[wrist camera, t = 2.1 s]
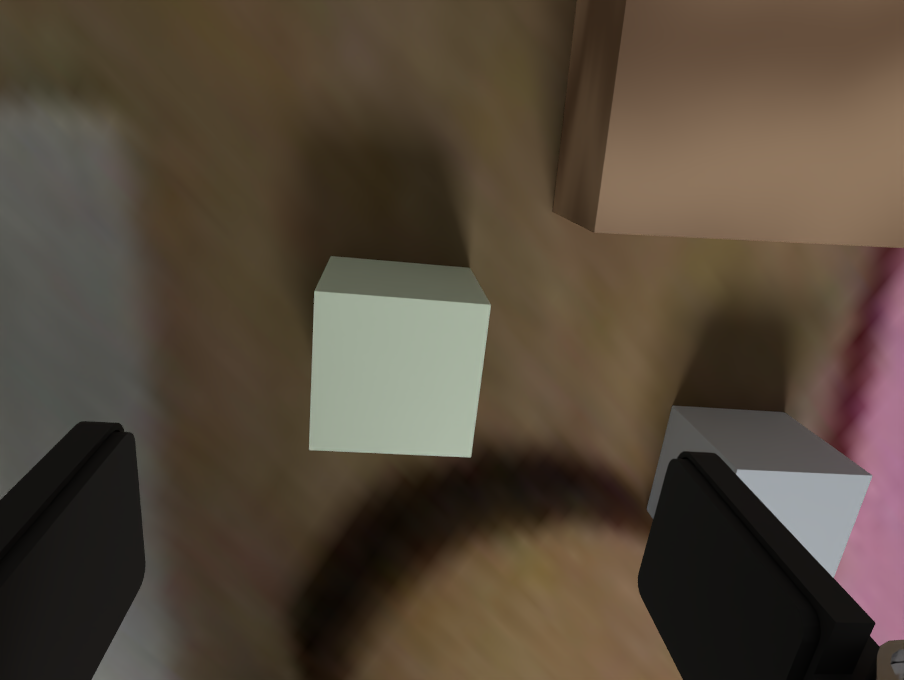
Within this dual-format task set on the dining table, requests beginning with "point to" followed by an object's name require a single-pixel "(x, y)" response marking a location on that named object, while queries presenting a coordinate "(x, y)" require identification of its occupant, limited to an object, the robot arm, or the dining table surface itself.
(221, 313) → the dining table surface
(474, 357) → the sage block
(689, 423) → the slate block
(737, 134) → the walnut base block
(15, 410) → the dining table surface
